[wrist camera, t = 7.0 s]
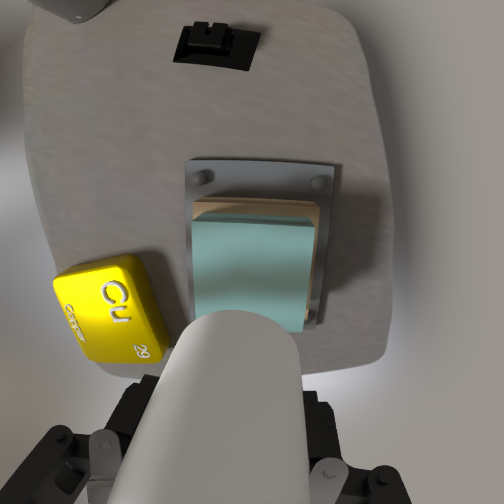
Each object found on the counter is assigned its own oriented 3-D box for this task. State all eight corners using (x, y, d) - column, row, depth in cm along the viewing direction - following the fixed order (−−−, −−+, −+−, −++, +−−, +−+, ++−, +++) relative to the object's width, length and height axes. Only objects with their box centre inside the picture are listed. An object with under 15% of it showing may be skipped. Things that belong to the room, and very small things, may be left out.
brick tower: (187, 160, 30) (156, 161, 21) (332, 166, 29) (356, 168, 20) (192, 317, 36) (172, 360, 27) (314, 325, 35) (324, 371, 26)
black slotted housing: (274, 32, 24) (274, 15, 20) (260, 83, 27) (258, 71, 22) (176, 22, 24) (163, 7, 20) (159, 70, 27) (143, 59, 22)
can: (191, 287, 13) (61, 538, 2) (318, 325, 13) (362, 580, 2) (172, 376, 15) (103, 552, 4) (274, 404, 15) (266, 586, 4)
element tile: (64, 267, 36) (46, 279, 31) (140, 250, 34) (123, 263, 29) (99, 348, 40) (86, 364, 36) (175, 346, 38) (165, 366, 34)
